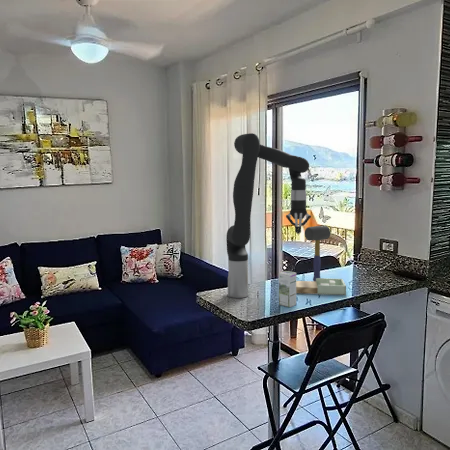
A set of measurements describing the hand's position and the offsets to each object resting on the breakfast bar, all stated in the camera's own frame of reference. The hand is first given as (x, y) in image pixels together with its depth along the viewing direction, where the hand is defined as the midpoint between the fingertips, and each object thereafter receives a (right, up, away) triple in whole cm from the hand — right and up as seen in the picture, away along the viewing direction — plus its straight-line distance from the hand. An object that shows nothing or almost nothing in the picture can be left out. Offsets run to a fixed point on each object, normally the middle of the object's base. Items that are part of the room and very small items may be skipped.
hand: (298, 233), depth 212 cm
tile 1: (+12, -27, -6) cm, 30 cm away
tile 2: (+14, -25, -6) cm, 29 cm away
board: (+2, -28, -4) cm, 28 cm away
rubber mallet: (+11, -26, +10) cm, 30 cm away
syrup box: (-9, -31, -27) cm, 42 cm away
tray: (+15, -28, -6) cm, 32 cm away
